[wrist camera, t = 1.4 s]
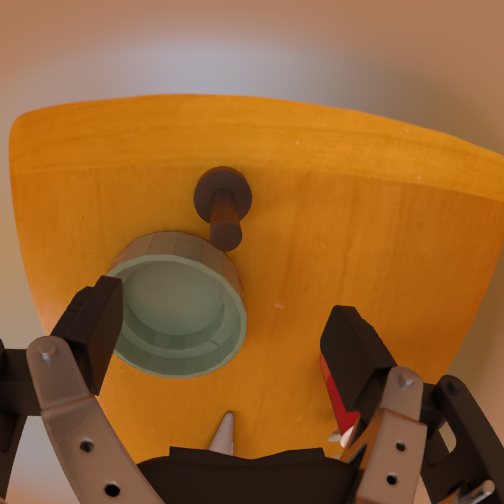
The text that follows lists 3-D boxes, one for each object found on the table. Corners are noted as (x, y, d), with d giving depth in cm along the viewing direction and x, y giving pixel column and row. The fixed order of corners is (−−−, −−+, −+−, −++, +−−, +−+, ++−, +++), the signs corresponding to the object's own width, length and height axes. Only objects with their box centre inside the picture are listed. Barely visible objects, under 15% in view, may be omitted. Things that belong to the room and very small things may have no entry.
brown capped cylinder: (184, 187, 28) (166, 228, 18) (229, 156, 27) (237, 178, 17) (216, 228, 30) (216, 287, 20) (259, 199, 29) (283, 245, 19)
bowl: (85, 279, 31) (66, 308, 25) (184, 200, 29) (176, 219, 23) (169, 360, 37) (165, 394, 32) (267, 304, 35) (276, 337, 29)
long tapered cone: (196, 429, 38) (201, 481, 44) (238, 425, 40) (233, 478, 46) (192, 402, 44) (197, 460, 50) (231, 400, 45) (227, 457, 51)
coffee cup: (361, 366, 42) (399, 442, 29) (311, 379, 42) (340, 463, 28) (367, 327, 38) (417, 408, 25) (311, 340, 38) (348, 433, 25)
